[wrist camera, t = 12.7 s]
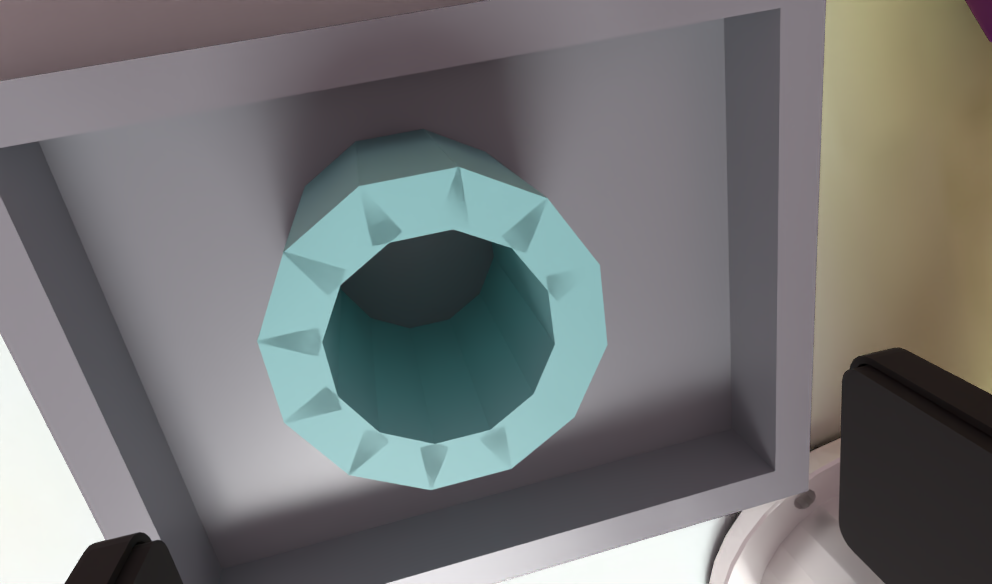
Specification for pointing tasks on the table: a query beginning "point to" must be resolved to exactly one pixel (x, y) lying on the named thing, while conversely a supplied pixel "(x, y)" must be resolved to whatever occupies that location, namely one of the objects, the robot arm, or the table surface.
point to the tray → (423, 275)
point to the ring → (437, 346)
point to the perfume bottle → (982, 14)
